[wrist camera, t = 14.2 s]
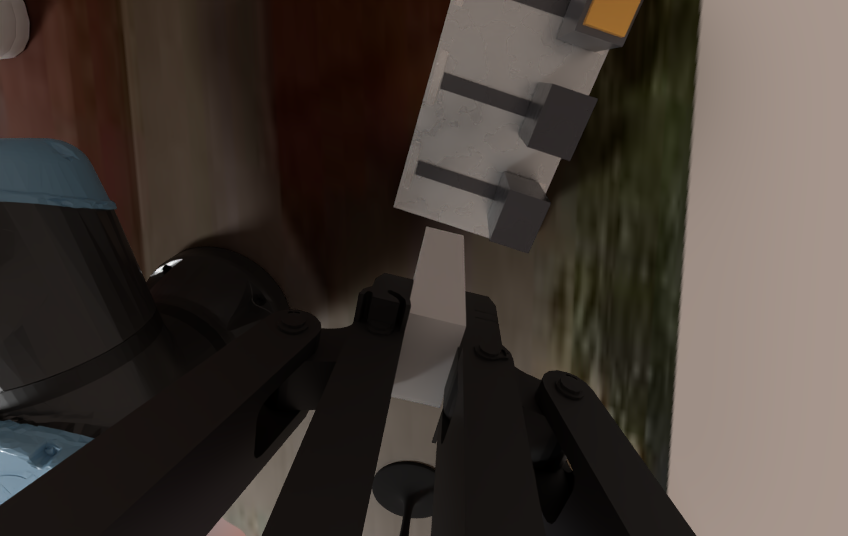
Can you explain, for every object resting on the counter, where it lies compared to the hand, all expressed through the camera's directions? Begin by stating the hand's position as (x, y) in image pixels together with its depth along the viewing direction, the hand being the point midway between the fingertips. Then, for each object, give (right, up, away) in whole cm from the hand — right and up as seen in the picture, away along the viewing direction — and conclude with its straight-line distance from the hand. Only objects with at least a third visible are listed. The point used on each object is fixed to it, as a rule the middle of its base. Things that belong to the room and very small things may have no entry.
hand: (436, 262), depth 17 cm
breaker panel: (+6, +14, +18) cm, 23 cm away
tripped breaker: (+11, +18, +13) cm, 24 cm away
